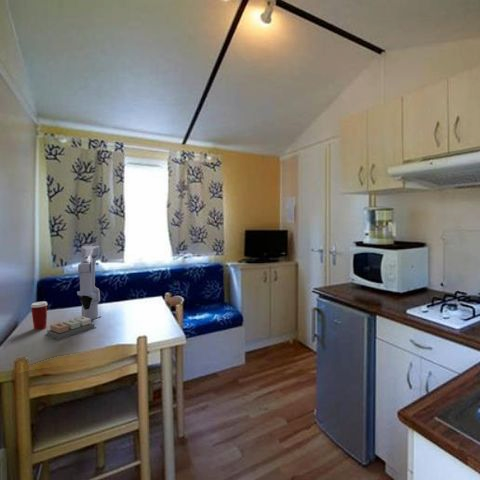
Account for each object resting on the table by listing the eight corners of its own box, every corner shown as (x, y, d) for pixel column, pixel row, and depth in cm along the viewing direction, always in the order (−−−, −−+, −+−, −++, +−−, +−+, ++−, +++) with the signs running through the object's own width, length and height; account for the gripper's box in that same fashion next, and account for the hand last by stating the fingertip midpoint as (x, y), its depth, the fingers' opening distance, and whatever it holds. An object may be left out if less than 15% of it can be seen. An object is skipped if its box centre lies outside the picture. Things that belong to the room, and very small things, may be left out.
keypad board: (45, 334, 149) (44, 330, 149) (83, 323, 166) (83, 319, 166) (57, 340, 142) (57, 335, 142) (96, 327, 159) (96, 323, 159)
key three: (50, 329, 149) (50, 324, 149) (59, 327, 153) (59, 322, 153) (59, 333, 144) (59, 327, 144) (68, 330, 148) (68, 325, 148)
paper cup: (51, 326, 160) (50, 301, 159) (38, 331, 153) (37, 305, 152) (41, 325, 163) (40, 300, 162) (28, 329, 156) (26, 304, 155)
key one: (74, 322, 159) (73, 318, 159) (82, 320, 163) (82, 315, 163) (83, 325, 154) (82, 321, 154) (91, 323, 158) (91, 318, 158)
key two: (62, 326, 154) (62, 321, 154) (71, 323, 158) (71, 318, 158) (71, 329, 149) (71, 324, 149) (80, 326, 153) (80, 321, 153)
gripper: (71, 284, 157) (72, 309, 158) (86, 287, 150) (87, 313, 150) (83, 282, 163) (84, 305, 164) (99, 285, 156) (100, 309, 156)
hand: (86, 309), depth 158 cm, fingers closed
